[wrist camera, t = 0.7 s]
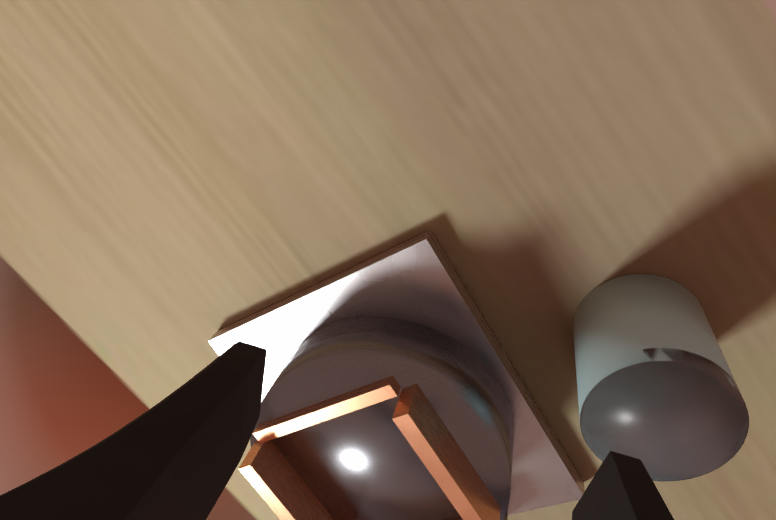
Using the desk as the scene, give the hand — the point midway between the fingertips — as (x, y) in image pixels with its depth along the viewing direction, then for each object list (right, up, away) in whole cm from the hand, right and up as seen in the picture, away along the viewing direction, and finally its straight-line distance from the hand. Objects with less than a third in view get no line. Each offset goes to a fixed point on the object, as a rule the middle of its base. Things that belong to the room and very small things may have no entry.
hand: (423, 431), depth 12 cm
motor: (0, -3, +13) cm, 13 cm away
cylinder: (+8, +1, +9) cm, 12 cm away
